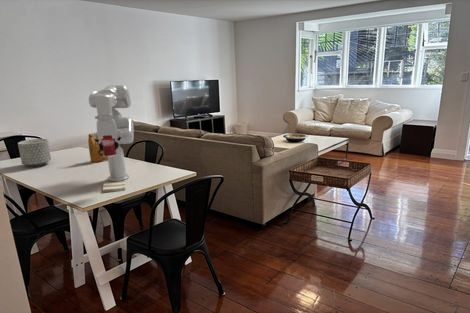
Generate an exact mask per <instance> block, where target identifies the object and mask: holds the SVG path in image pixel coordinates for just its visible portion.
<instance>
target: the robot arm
mask: <svg viewBox="0 0 470 313" xmlns="http://www.w3.org/2000/svg"><path fill="white" fill-rule="evenodd" d="M88 104H89V106H90V107H91V108H93V109H94V108H95V109H96V112H97V113H96V114H97V115H95V116H94V119H95V120H96V132H94V133H95V134H94V135H93V136H92V138H93V139H94V140H95V141H96V142H97V143H98V144H99V149H101V151H102V143H101V139H103V136H104V135H111V136H112V138H113V139H115V144H116V150H117V154H116V155H115V156H111V157H108V160H107V162H108V170H109V176H108V177H107V180H108V181H109V182H121V181H125V180H127V179H129V178H130V177H129V176H130V175H129V174H128V173H127V172H126V164H125V155H124V150H123V148H122V147H121V146H120V145H126V144H127V145H128V144H132V143H133V142H134V138H135V137H134V136H135V134H134V133H135V130H134V128H135V127H134V121H133V119H132V118H131V117H127V116H126V117H123V116H122V114H121V112H119V111H118V110H117V109H128V108H130V107H131V105H132V100H131V95H130V93H129V88H127V86H126V85H123V84H121V85H120V84H115V85H112V84H111V85H107V86H105V88H104V89H101V90H96V91H93V92H91V93H90V94H89V96H88ZM96 136H98V139H99V140H98V139H96V138H95V137H96Z"/></svg>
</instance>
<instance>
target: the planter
mask: <svg viewBox="0 0 470 313" xmlns="http://www.w3.org/2000/svg"><path fill="white" fill-rule="evenodd" d="M17 145H18V147H17V148H18V151H19V157H20V160H21V162H20V163H21V164H22V165H25V166H27V167H28V166H29V167H33V168H36V167H41V166H43V165H46V164H47V163H49V162H50V161H51V160H52V156H51V151H50V150H51V149H50V146H49V145H50V144H49V139H47V138H35V139H34V138H33V139H26V140H21V141H19V142H17Z"/></svg>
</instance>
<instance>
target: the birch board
mask: <svg viewBox="0 0 470 313" xmlns="http://www.w3.org/2000/svg"><path fill="white" fill-rule="evenodd" d="M102 186H103V187H102V193H103V194H104V193H111V191H112V192H119V190H120V191H126V181H125V180H122V181H112V182H106V183H103V185H102Z"/></svg>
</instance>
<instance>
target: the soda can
mask: <svg viewBox="0 0 470 313" xmlns="http://www.w3.org/2000/svg"><path fill="white" fill-rule="evenodd" d="M101 143H102V151H103V156H105V157H111V156H115V155H116V154H117V150H116V144H115V139H113V138H112V136H111V135H104V136H103V139H101Z"/></svg>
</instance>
